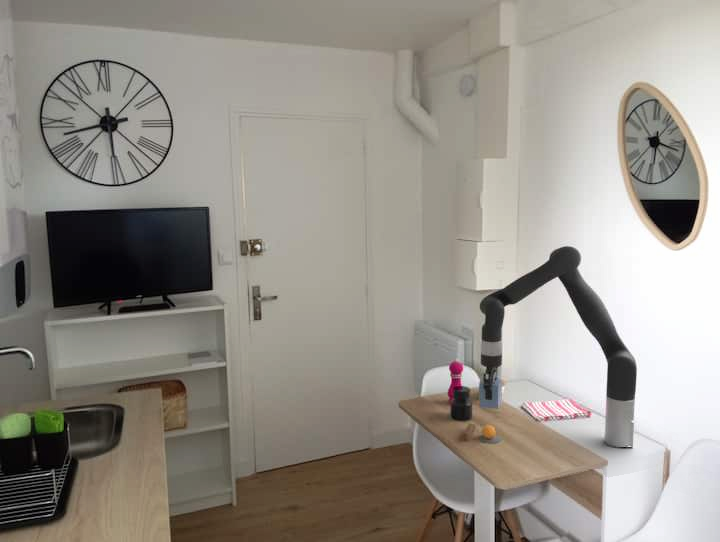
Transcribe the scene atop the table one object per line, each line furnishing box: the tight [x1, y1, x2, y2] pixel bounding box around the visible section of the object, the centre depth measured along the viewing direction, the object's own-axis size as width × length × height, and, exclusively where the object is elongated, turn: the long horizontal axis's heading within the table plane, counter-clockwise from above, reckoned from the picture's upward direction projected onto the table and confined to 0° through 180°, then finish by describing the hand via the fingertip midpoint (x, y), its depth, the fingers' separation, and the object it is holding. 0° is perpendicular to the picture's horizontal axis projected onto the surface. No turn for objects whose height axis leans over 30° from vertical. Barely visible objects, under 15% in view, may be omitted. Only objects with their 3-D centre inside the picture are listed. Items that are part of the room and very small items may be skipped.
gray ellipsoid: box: [478, 434, 502, 444], centre depth 207 cm, size 8×8×1 cm
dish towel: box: [521, 398, 592, 423], centre depth 231 cm, size 17×23×4 cm
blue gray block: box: [478, 377, 503, 410], centre depth 205 cm, size 7×7×9 cm
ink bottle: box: [449, 385, 474, 422], centre depth 227 cm, size 10×9×12 cm
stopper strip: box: [462, 423, 476, 442], centre depth 210 cm, size 2×10×2 cm, turn 155°
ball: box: [481, 424, 497, 439], centre depth 207 cm, size 5×5×5 cm
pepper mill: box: [447, 358, 464, 405], centre depth 241 cm, size 7×7×20 cm
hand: (490, 396), depth 205 cm, fingers closed on blue gray block, 7 cm apart
